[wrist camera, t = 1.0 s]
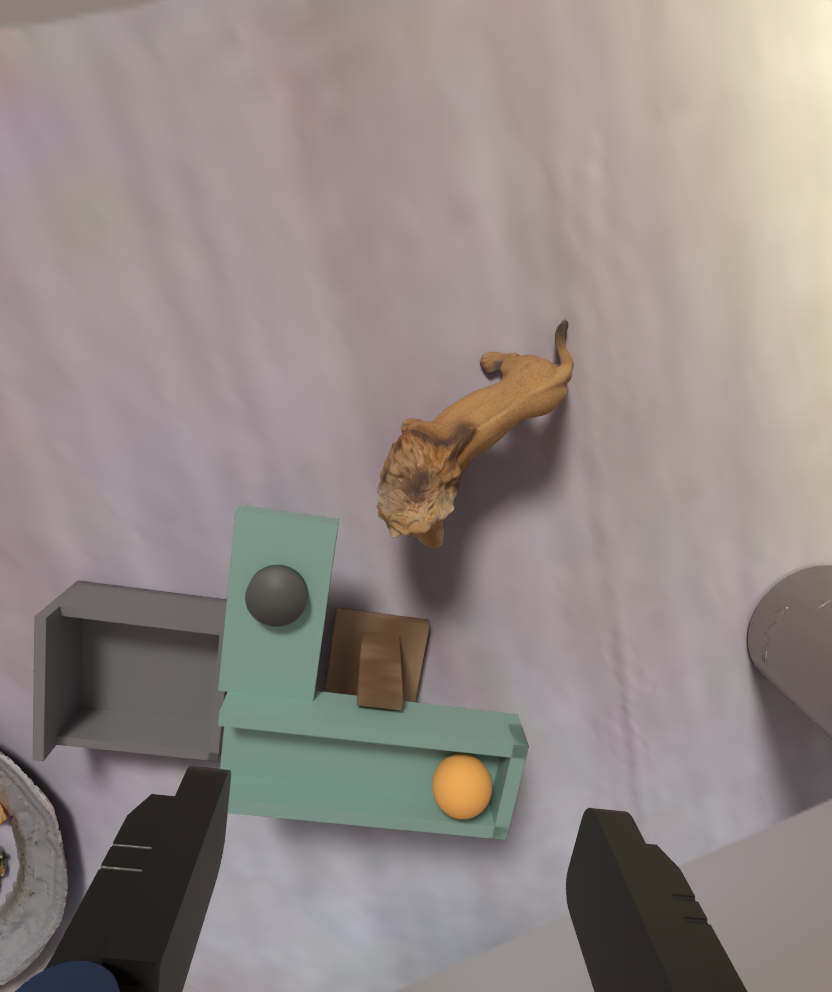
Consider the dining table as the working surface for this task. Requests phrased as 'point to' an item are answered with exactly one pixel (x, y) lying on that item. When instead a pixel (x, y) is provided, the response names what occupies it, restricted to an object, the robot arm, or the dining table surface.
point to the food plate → (29, 872)
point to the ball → (462, 786)
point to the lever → (333, 705)
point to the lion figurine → (464, 439)
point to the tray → (129, 672)
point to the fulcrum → (376, 657)
